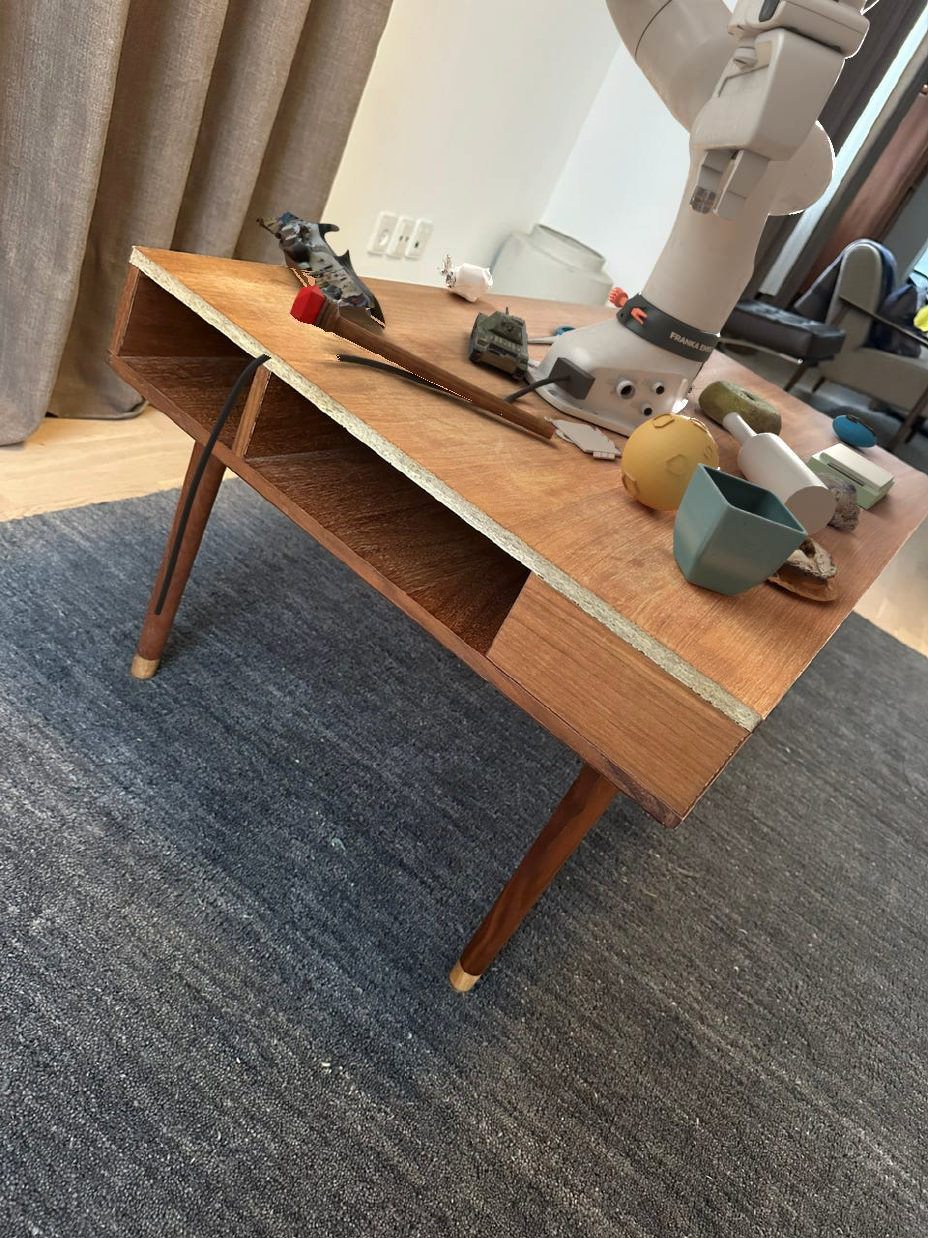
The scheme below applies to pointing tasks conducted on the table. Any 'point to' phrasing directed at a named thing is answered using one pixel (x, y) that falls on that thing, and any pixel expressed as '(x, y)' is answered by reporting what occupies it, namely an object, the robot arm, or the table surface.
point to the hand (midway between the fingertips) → (709, 214)
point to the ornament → (854, 431)
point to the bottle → (782, 474)
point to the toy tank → (500, 342)
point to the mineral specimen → (842, 501)
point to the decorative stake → (407, 359)
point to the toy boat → (321, 262)
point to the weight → (740, 406)
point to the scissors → (553, 339)
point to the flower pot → (732, 532)
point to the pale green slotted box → (854, 473)
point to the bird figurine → (466, 279)
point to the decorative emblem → (586, 438)
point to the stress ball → (666, 459)
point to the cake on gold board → (809, 572)
